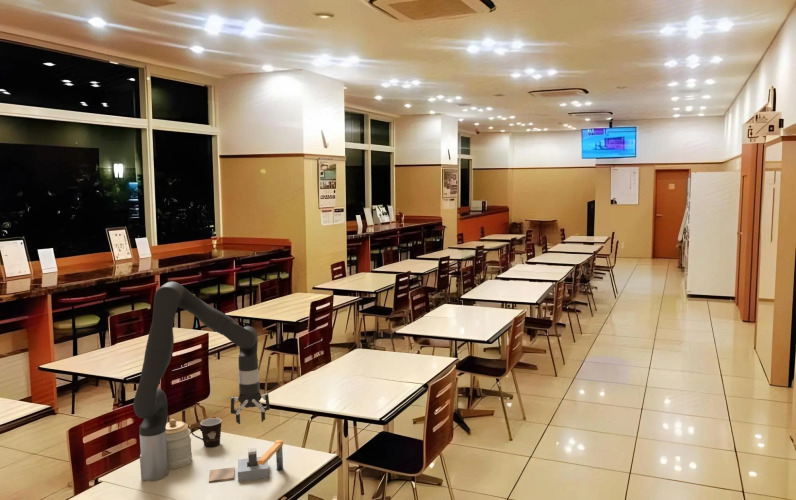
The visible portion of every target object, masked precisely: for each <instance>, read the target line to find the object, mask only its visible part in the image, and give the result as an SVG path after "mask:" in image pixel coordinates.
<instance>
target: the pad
mask: <svg viewBox="0 0 796 500" xmlns="http://www.w3.org/2000/svg"><path fill="white" fill-rule="evenodd" d="M232 480H235V467H234V466H233V467H226V468H218V469H210V471H209V478H208V483H215V482H222V481H232Z"/></svg>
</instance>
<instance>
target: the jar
mask: <svg viewBox="0 0 796 500" xmlns="http://www.w3.org/2000/svg"><path fill="white" fill-rule="evenodd" d="M190 434H192V433H191V429H190V428H189V424H188V423H186V422H184V421H181V420H180V421H179V420H178V421H177V420H176V419H174V418H172V419H170V420H169V421H167V424H166V441H167V457H168V470H173V469H179V468H182V467H185V466H187V465H189V464H190V463H191V462H192V459H193V453H192V438H191V436H190Z"/></svg>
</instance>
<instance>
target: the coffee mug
mask: <svg viewBox="0 0 796 500" xmlns="http://www.w3.org/2000/svg"><path fill="white" fill-rule="evenodd" d="M199 424H200V426H194V427H192V428H191V429H190V431H191V433H190V434H192V436H193V437H195V438H197V439H200V440H201V441H202V442H203V446H204V447H205V448H208V449H212V448H216V447H218V446H220V445H221V437H222V436H221V431H222V419H221V418H219V417H210V418H206V419H203V420H201V422H200V423H199ZM195 429H199V431H200V432H201V436H202V437H200V436H198V435H195V434H194V432H193V430H195Z"/></svg>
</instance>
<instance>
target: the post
mask: <svg viewBox="0 0 796 500" xmlns="http://www.w3.org/2000/svg"><path fill="white" fill-rule="evenodd" d="M275 455H276V458H275V460H276V471H279V472H280V471H283V470H284V458H283V446H281V447H280V448H279V449H278V450H277V451H276V452H275Z"/></svg>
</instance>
